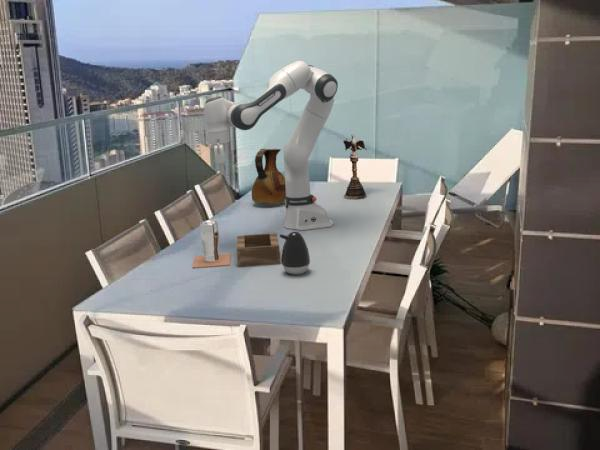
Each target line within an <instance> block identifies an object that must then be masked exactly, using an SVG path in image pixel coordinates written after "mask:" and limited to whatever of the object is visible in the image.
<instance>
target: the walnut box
mask: <svg viewBox="0 0 600 450" xmlns="http://www.w3.org/2000/svg"><path fill="white" fill-rule="evenodd" d="M280 253H281V251H280V243H279V236H278V233H277V232H271V233H270V232H269V233H260V234H259V233H257V234H244V235H243V234H242V235H236V258H237V259H236V260H237V268H239V267H253V266H255V267H256V266H268V265H281V254H280Z"/></svg>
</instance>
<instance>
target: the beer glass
mask: <svg viewBox="0 0 600 450" xmlns="http://www.w3.org/2000/svg"><path fill="white" fill-rule="evenodd" d="M199 226H200V227H199V228H200V229H199V232H200V239H201V244H202V247H203V250H204V251H203V252H204V254H203V255H204V261H205V262H216V261H219V260H220V257H219V254H220V253H219V242H220V241H219V239H220V238H219V237H220V234H219V233H220V232H219V231H220V230H219V225H218V221H217V220H214V219H213V220H210V219H209V220H204V221H200V222H199Z"/></svg>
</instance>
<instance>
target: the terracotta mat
mask: <svg viewBox="0 0 600 450" xmlns="http://www.w3.org/2000/svg"><path fill="white" fill-rule="evenodd" d="M219 257H220V260H219V261H216V262H205V261H204V254H203V255H195V256H194V259H193V262H192V263H193V264H192V269H203V268H217V267H230V266H231V253H219Z"/></svg>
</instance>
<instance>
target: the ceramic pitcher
mask: <svg viewBox="0 0 600 450" xmlns="http://www.w3.org/2000/svg"><path fill="white" fill-rule="evenodd" d="M281 151H282V149H280V148H272V149H271V148H269V149H268V148H260V150H258V152H256V155H255V158H254V162H255V163H254V165H255V168H256V173H257V176H256V178H255V180H254V182H253V185H252V188H251V199H252V201H253V202H254V203H257V204H260V205H264V206H278V205H280V204H283V203H285V196H286V188H285V175H283V174H282V172H281V171H279V169H278V166H277V156H278V154H279V152H281ZM263 157H264V160H265V161H264V162H265V164H263ZM264 165H265V166H264Z"/></svg>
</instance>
